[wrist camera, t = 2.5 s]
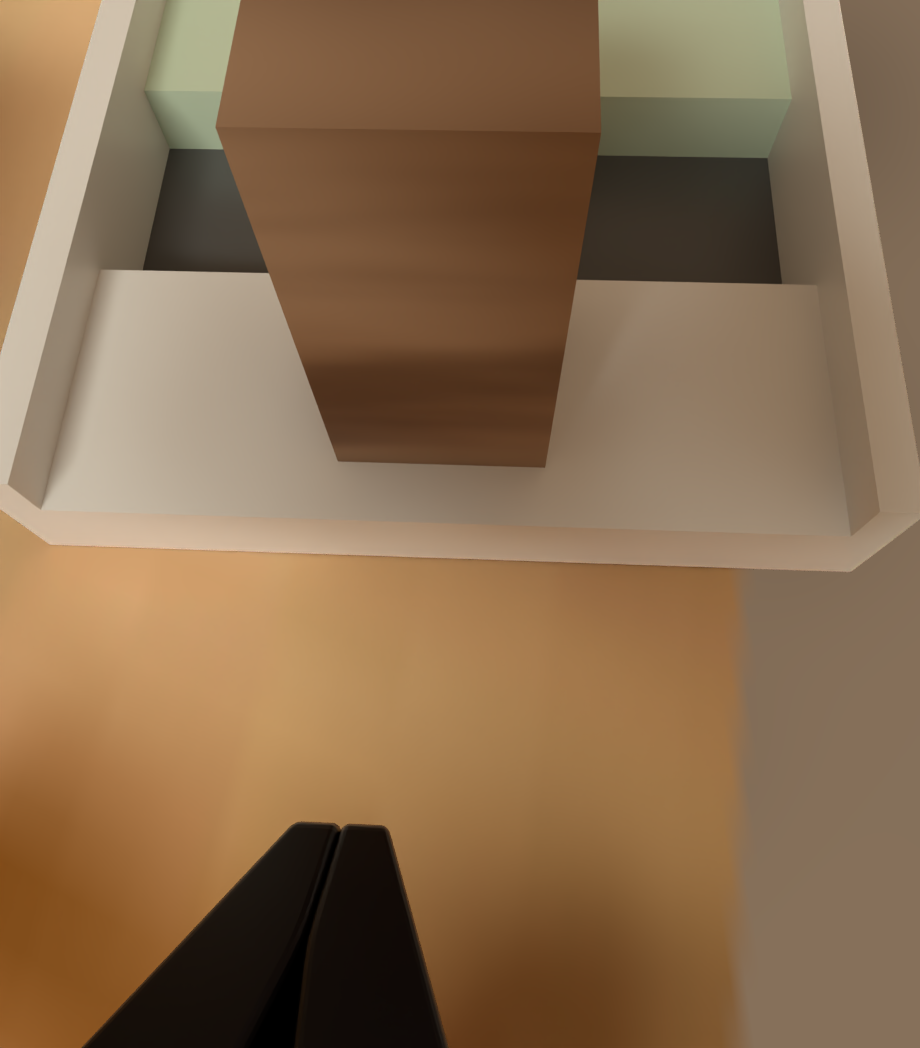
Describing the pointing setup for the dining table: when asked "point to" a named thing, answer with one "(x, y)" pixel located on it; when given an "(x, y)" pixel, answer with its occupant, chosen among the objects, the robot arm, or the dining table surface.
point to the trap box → (591, 347)
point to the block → (420, 210)
